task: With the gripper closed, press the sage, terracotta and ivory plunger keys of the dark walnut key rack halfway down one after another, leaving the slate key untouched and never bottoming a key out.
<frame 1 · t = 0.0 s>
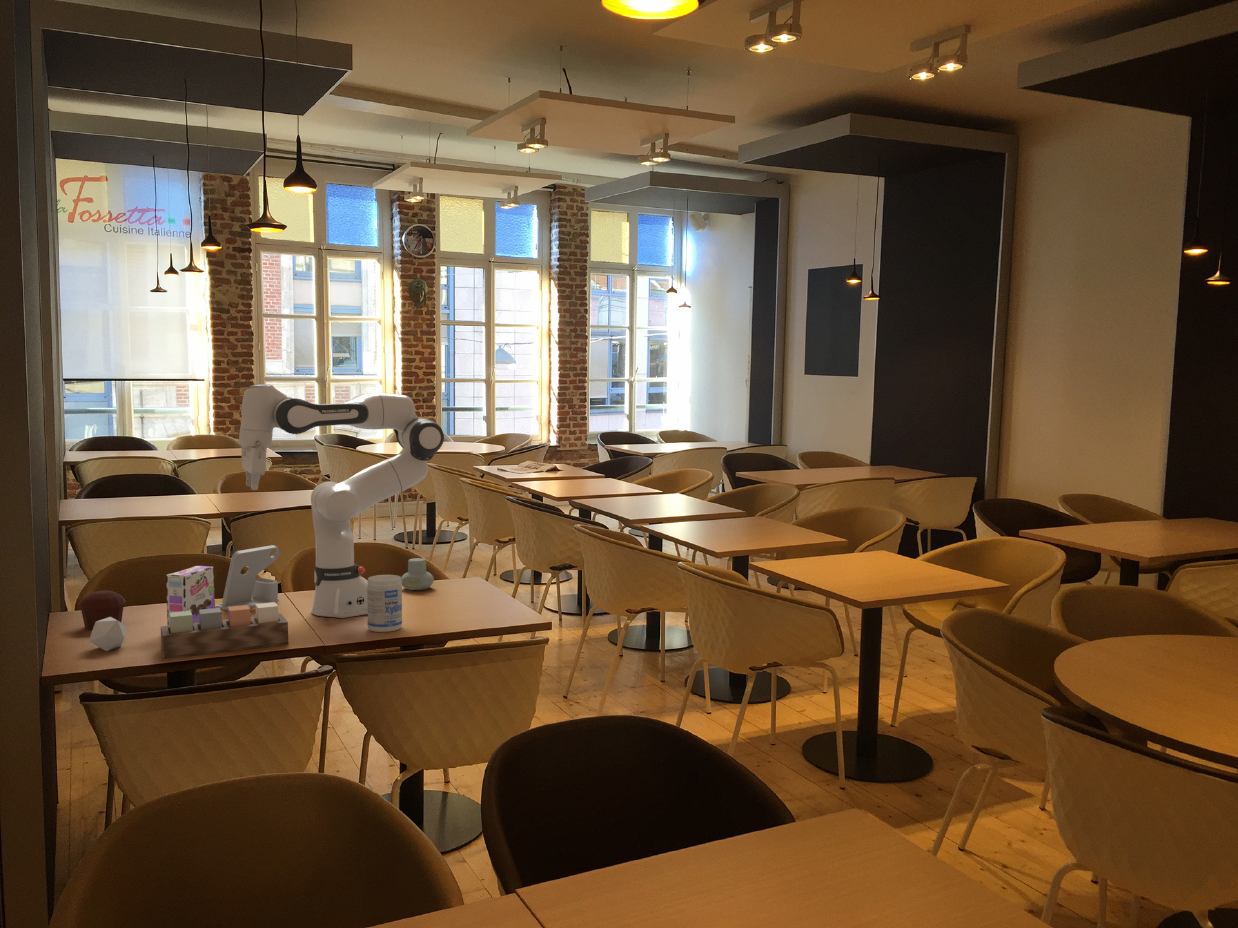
hand: (251, 488, 276), 39 cm above the table, tool pointing down, fingers open, 8 cm apart
ivory key: (266, 614, 257), point 8 cm above the table, slide at 0.0 cm
supplement tub: (385, 629, 272), on the table
die: (109, 649, 250), on the table
phone holder: (248, 604, 299), on the table
slate key: (210, 620, 250), point 8 cm above the table, slide at 0.0 cm
sage key: (181, 623, 247), point 7 cm above the table, slide at 0.0 cm
terracotta key: (239, 617, 254), point 7 cm above the table, slide at 0.0 cm
candy box: (192, 627, 272), on the table
key rack: (225, 646, 253), on the table
air freshener: (417, 589, 322), on the table
muffin: (103, 627, 272), on the table
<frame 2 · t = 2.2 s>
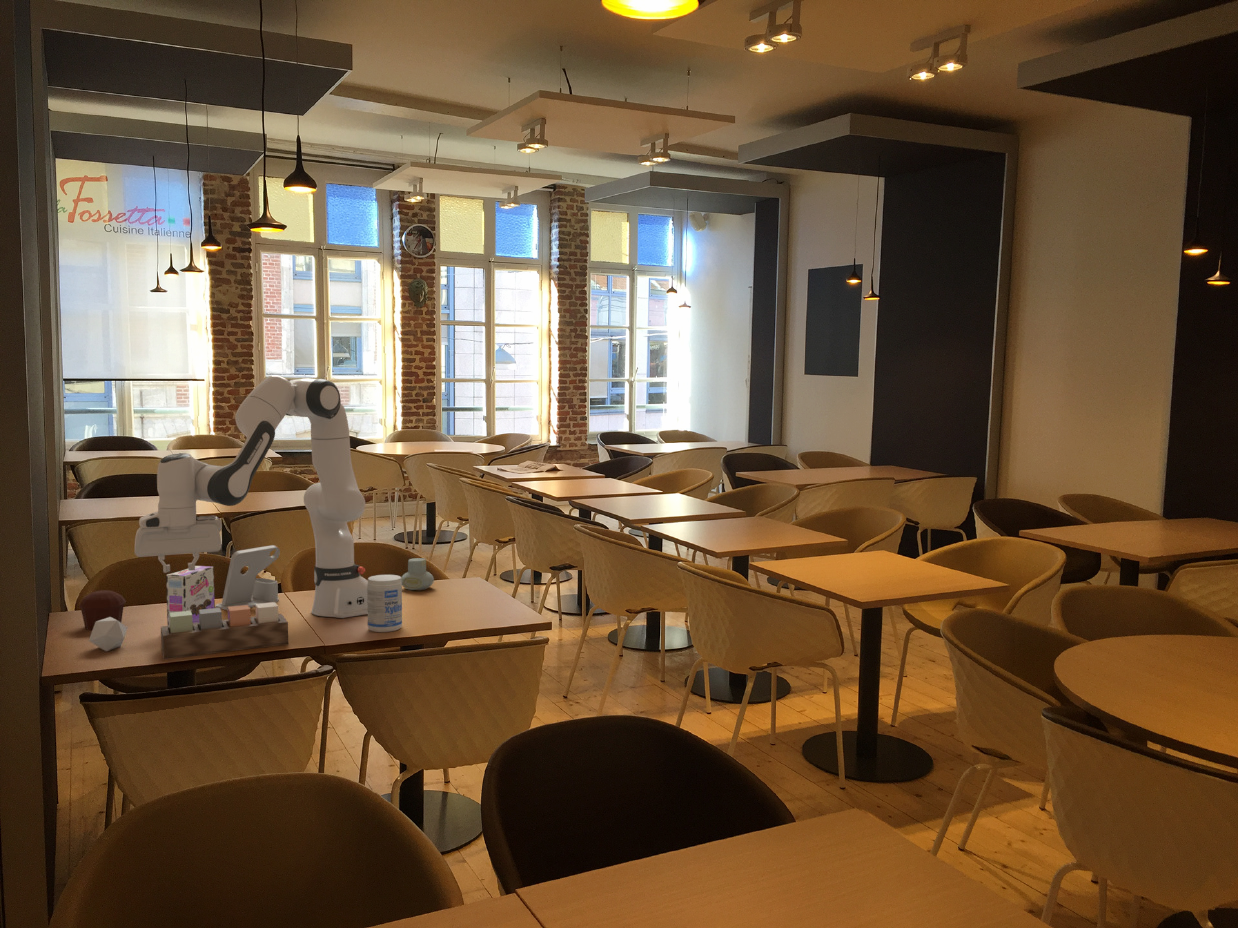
hand: (179, 571, 246), 21 cm above the table, tool pointing down, fingers open, 4 cm apart
nothing on the table moved.
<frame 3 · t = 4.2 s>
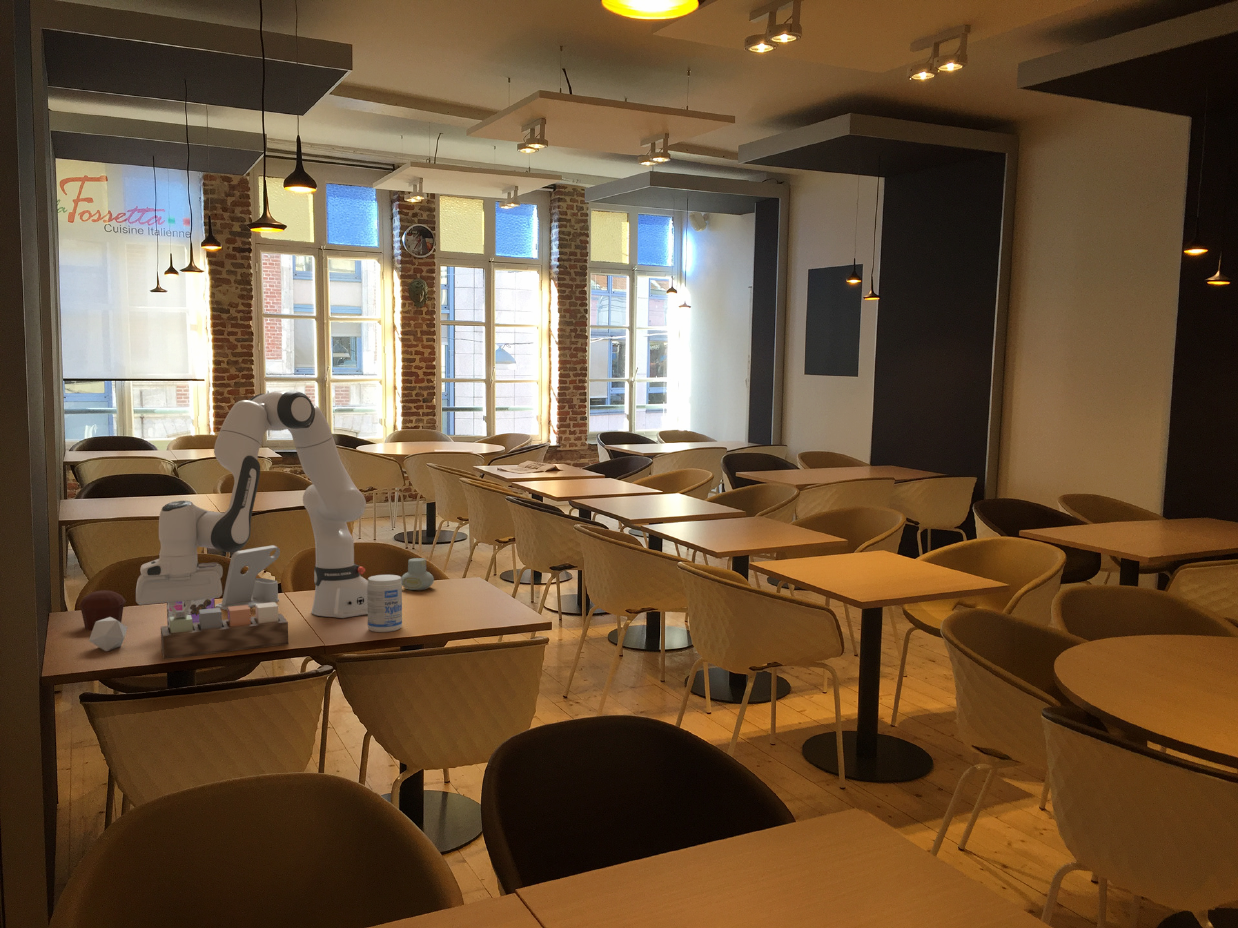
hand: (180, 617, 247), 9 cm above the table, tool pointing down, fingers closed, pressing on sage key
sage key: (181, 627, 247), point 6 cm above the table, slide at 1.1 cm, touching gripper
everything else where it was.
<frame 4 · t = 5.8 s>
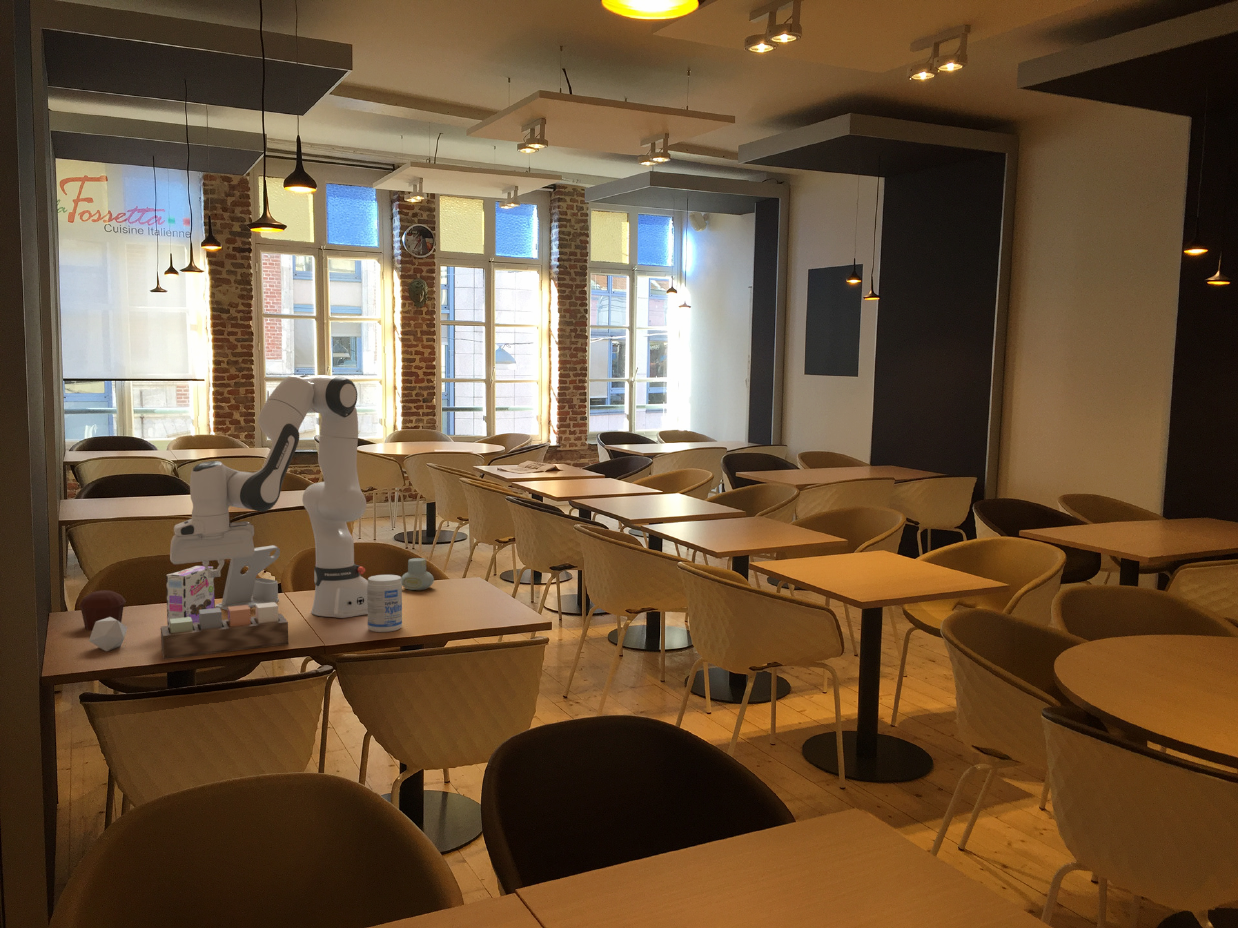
hand: (214, 576, 250), 19 cm above the table, tool pointing down, fingers closed
sage key: (181, 629, 247), point 6 cm above the table, slide at 1.7 cm
everything else where it was.
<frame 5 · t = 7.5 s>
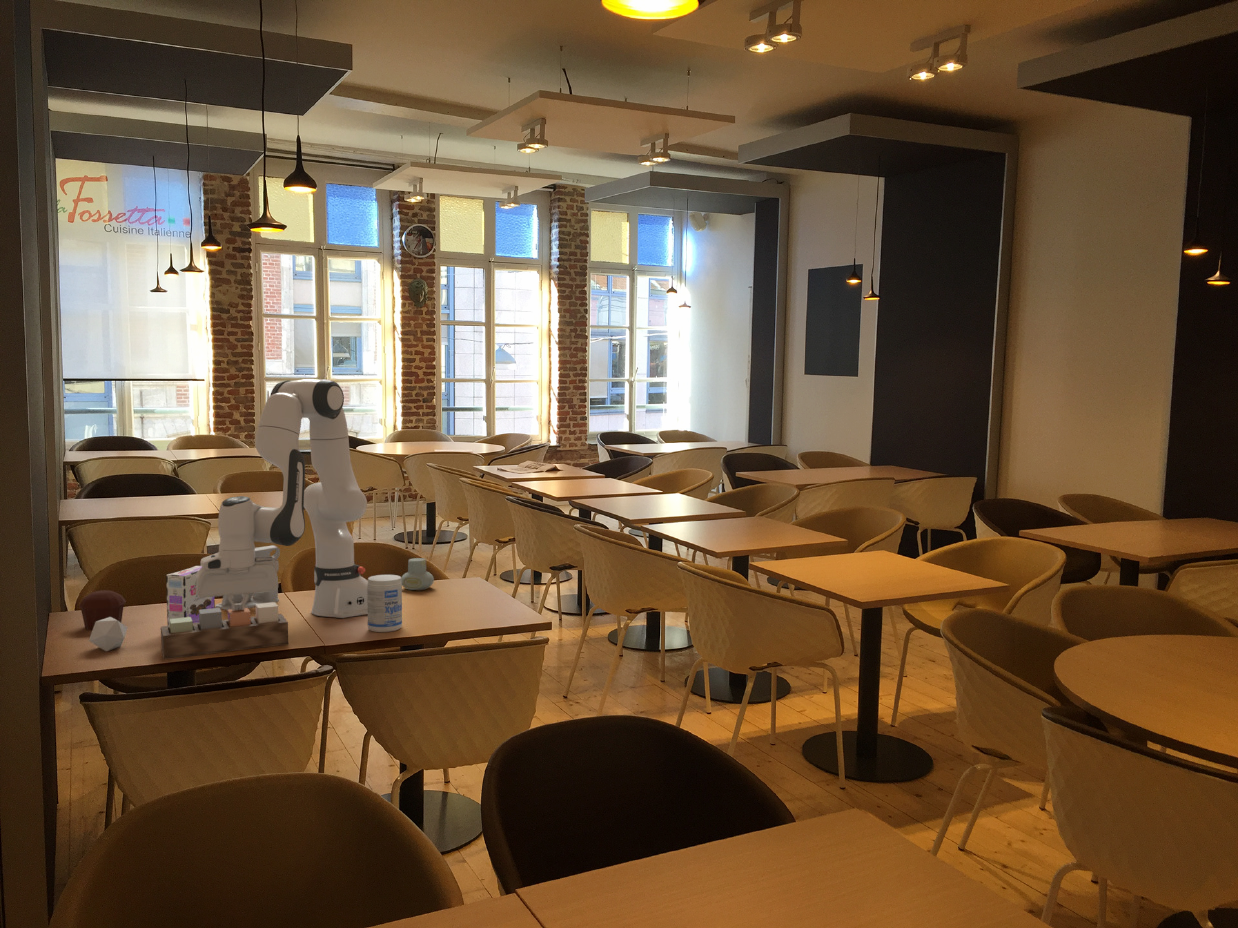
hand: (238, 610, 253), 9 cm above the table, tool pointing down, fingers closed
terracotta key: (239, 619, 254), point 7 cm above the table, slide at 0.8 cm, touching gripper
everything else where it was.
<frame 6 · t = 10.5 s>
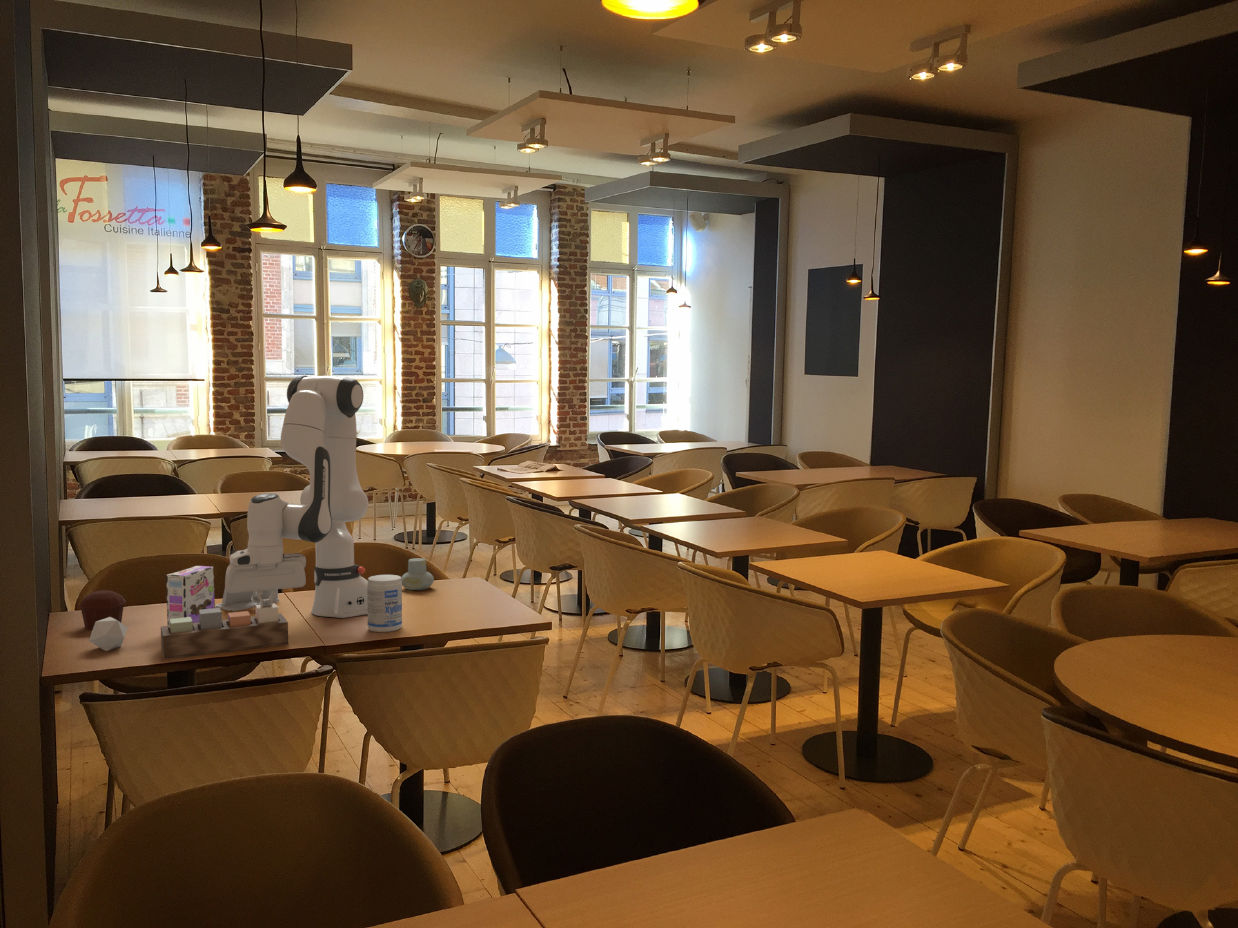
hand: (266, 606, 257), 10 cm above the table, tool pointing down, fingers closed
ivory key: (267, 615, 257), point 7 cm above the table, slide at 0.3 cm, touching gripper
terracotta key: (239, 623, 254), point 6 cm above the table, slide at 1.7 cm
everything else where it was.
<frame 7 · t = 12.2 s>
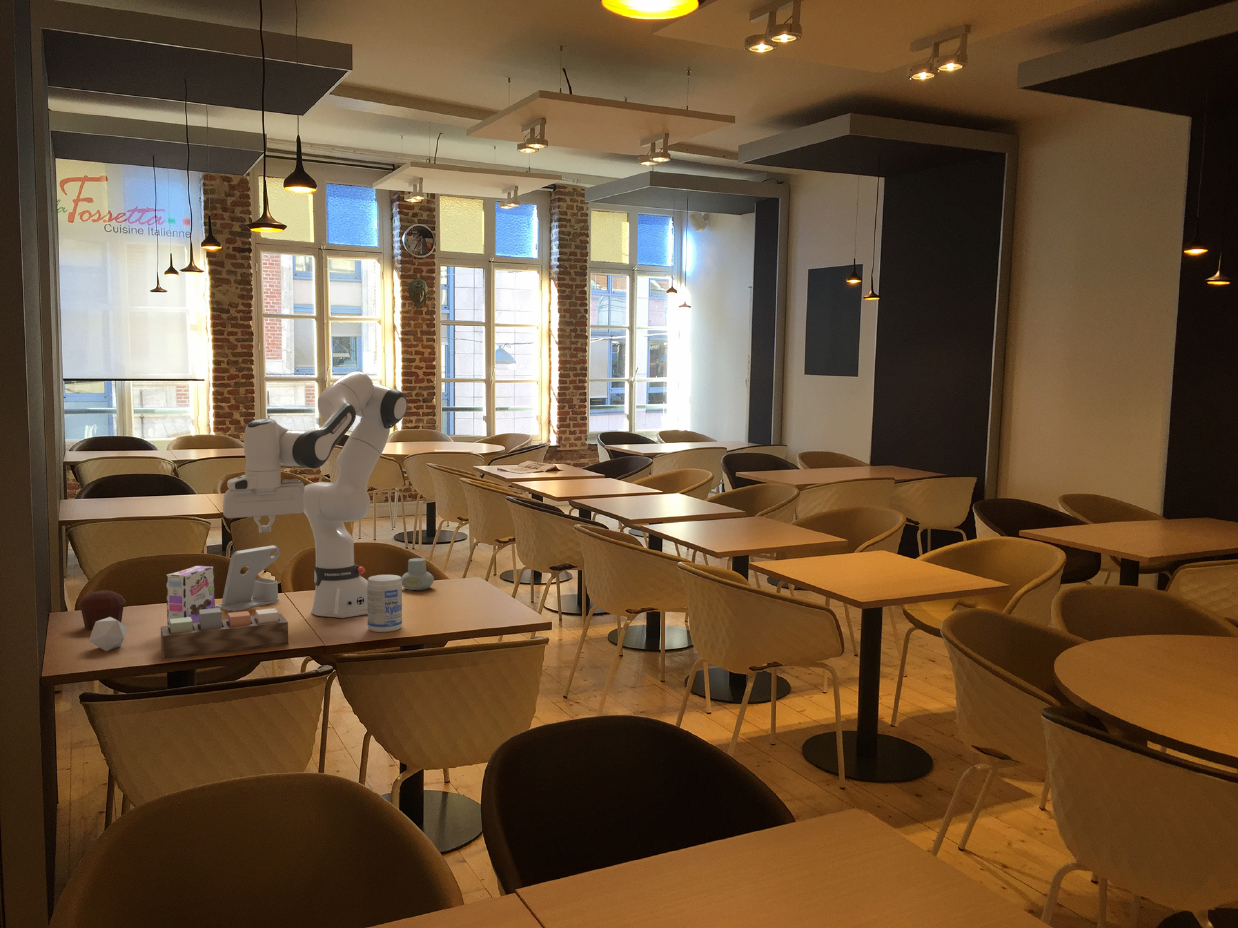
hand: (265, 532, 255), 30 cm above the table, tool pointing down, fingers closed
ivory key: (267, 620, 257), point 6 cm above the table, slide at 1.7 cm
everything else where it was.
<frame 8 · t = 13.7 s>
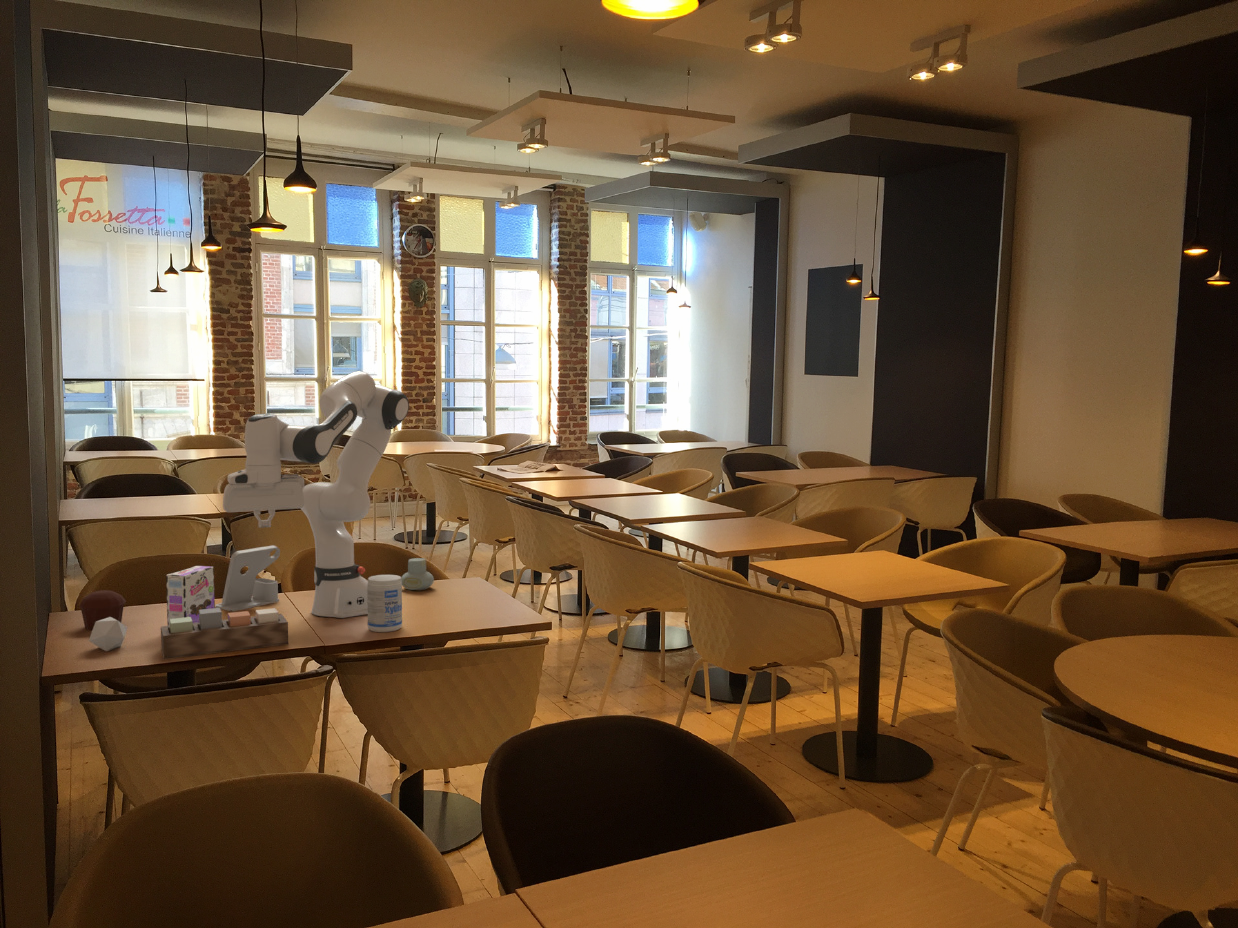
hand: (264, 527, 255), 31 cm above the table, tool pointing down, fingers closed
nothing on the table moved.
at the end: sage key slide at 1.7 cm; terracotta key slide at 1.7 cm; ivory key slide at 1.7 cm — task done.
